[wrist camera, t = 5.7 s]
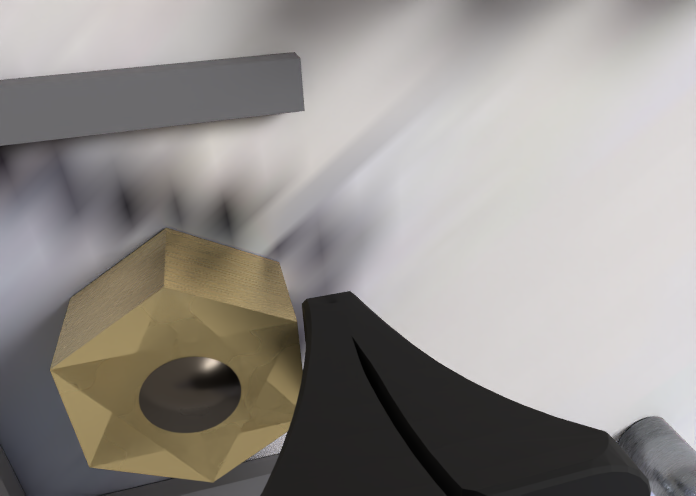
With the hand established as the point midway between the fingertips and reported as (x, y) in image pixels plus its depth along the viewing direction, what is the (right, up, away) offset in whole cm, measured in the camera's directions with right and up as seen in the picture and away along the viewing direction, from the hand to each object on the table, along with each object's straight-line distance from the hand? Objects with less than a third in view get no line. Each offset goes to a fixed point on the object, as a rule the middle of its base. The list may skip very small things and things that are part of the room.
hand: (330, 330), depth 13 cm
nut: (-3, 0, 0) cm, 3 cm away
